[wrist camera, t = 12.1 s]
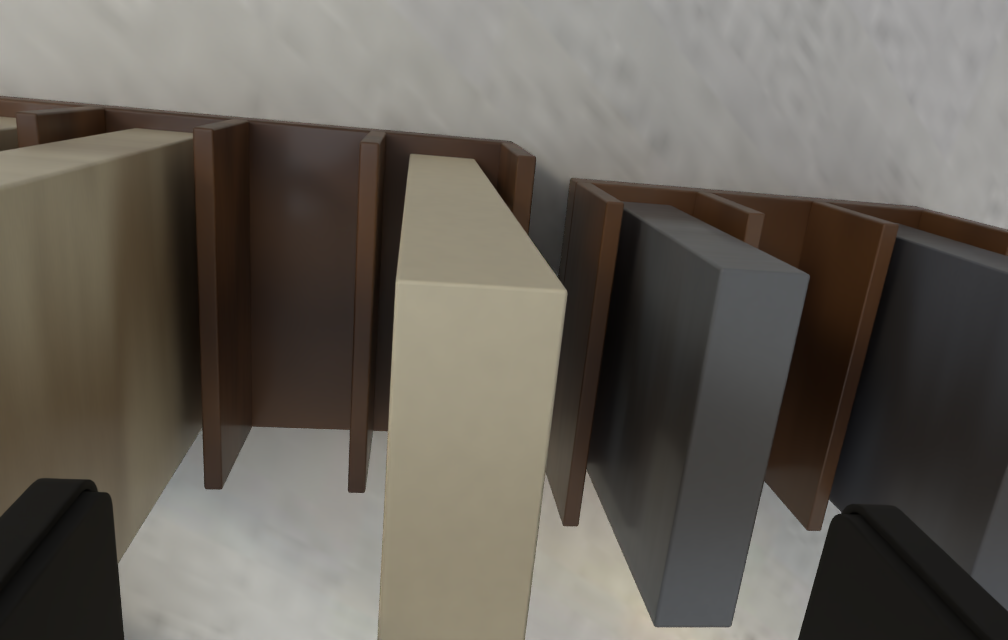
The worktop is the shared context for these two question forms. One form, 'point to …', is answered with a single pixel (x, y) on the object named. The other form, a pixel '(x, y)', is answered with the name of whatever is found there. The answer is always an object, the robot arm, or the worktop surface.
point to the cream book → (466, 410)
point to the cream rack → (197, 287)
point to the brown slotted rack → (776, 378)
